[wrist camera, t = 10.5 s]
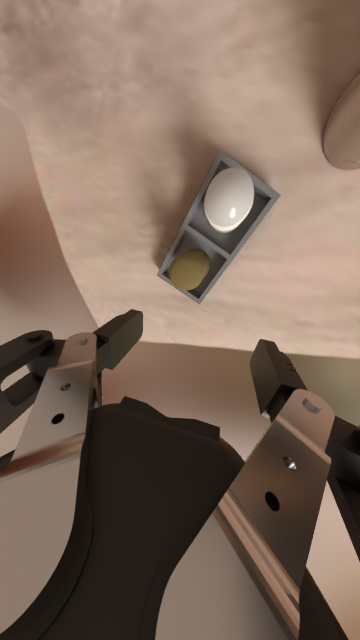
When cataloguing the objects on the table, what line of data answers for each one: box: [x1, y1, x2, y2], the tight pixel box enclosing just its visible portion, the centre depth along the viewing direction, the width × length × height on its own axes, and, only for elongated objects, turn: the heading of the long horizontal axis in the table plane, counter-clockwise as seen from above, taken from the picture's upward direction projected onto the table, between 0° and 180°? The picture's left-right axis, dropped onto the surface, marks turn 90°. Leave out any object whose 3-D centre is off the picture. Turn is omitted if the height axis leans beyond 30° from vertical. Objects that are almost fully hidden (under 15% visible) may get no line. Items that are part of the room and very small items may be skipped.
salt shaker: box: [204, 168, 254, 234], centre depth 22 cm, size 6×6×10 cm
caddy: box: [157, 150, 280, 304], centre depth 28 cm, size 20×11×3 cm, turn 149°
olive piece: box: [169, 249, 211, 290], centre depth 26 cm, size 6×6×11 cm
